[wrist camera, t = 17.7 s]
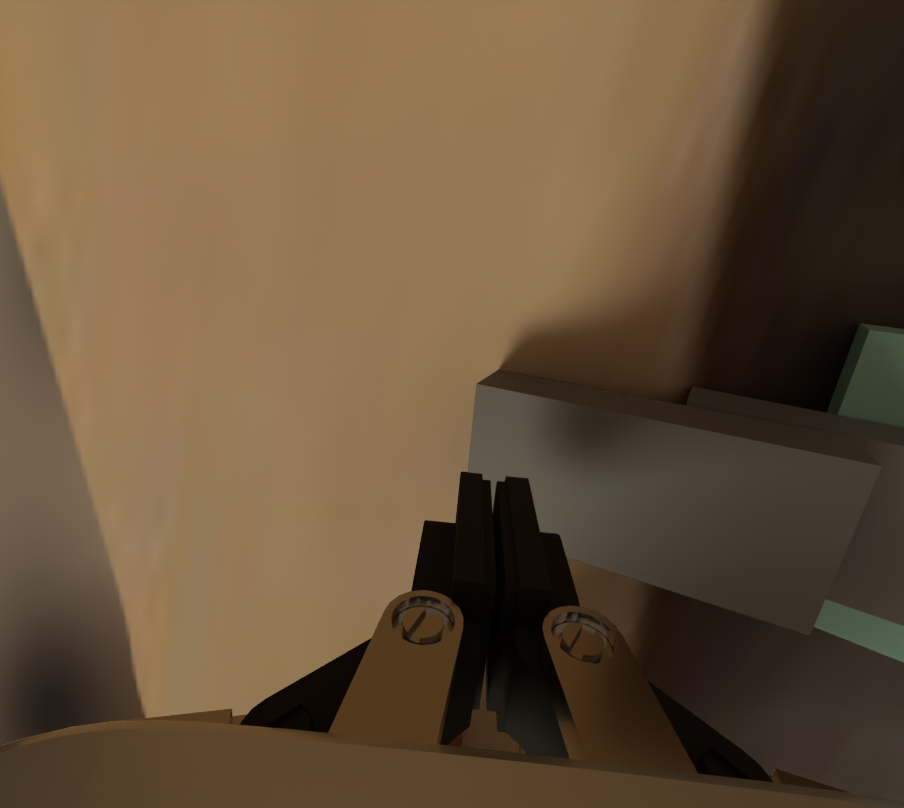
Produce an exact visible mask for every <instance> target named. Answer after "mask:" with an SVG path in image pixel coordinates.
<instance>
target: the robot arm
mask: <svg viewBox="0 0 904 808" xmlns="http://www.w3.org/2000/svg"><path fill="white" fill-rule="evenodd" d="M485 664H486V704H487V711H496V714H497V731H499V732H507V733H508V734H509V735H510V736H511V737H512V738H513V739H514V740H515V741H516V742H517V743H518V744H519V745H520V747H519V753H512V752H503V751H493V750H484V749H475V748H466V747H457V746H449V743H451V742H452V741H453V740H454V739H455V738H456V737H458V736H459V735H460V734H461V733H462V732H463V731H465V730H466V729H467V728H468V727H469V726H470V722H471V714H472V709H478V710H479V705H480V698H481V692H482V685H483V678H484V671H485ZM0 808H904V801H898V800H892V799H887V798H881V797H876V796H870V795H863V794H855V793H850V792H847V791H844V790H841V789H837V788H834V787H831V786H828V785H825V784H822V783H819V782H816V781H813V780H810V779H807V778H803V777H800V776H797V775H794V774H791V773H788V772H785V771H782V770H779V769H776V768H775V770H774V772H773V774H772V776H771V775H768V774H767V773H766V772H765V771H764V770H763V769H762V767H761V766H760V765H759V764H758V763H757V762H756V761H754V760H753V759H752V758H751V757H750V756H749V755H748V754H746V753H745V752H744V751H743V750H741V749H740V748H739V747H737V746H736V745H735V744H733V743H732V742H731V741H729V740H728V739H726V738H725V737H724V736H722V735H721V734H720V733H718V732H717V731H716V730H714V729H713V728H712V727H710V726H709V725H707V724H706V723H705V722H703V721H702V720H701V719H699V718H698V717H697V716H695V715H694V714H693V713H691V712H690V711H688V710H687V709H686V708H684V707H683V706H682V705H680V704H679V703H678V702H676V701H675V700H673V699H672V698H671V697H669V696H668V695H667V694H665V693H664V692H663V691H661V690H660V689H659V688H657V687H656V686H654V685H653V684H652V683H650V682H649V681H648V680H647V679H646V677H645V676H644V674H643V672H642V670H641V668H640V666H639V665H638V663H637V661H636V659H635V657H634V656H633V654H632V652H631V650H630V648H629V646H628V645H627V643H626V641H625V639H624V637H623V635H622V634H621V633H620V631H619V630H618V629H617V627H616V626H615V625H614V624H613V623H612V622H611V621H609V620H608V619H607V618H606V617H604V616H602V615H601V614H599V613H597V612H595V611H593V610H590V609H587V608H584V607H580V604H579V601H578V597H577V593H576V590H575V586H574V583H573V579H572V576H571V572H570V569H569V565H568V562H567V558H566V555H565V551H564V547H563V544H562V540H561V538H560V535H559V534H555V533H546V532H540V529H539V525H538V520H537V516H536V511H535V506H534V502H533V497H532V493H531V488H530V483H529V479H528V478H520V477H510V476H506V477H505V482H503V481H497V483H496V489H495V497H494V505H493V512H492V496H491V481H490V480H483V475H482V474H480V473H470V472H461V475H460V484H459V494H458V504H457V514H456V523H447V522H437V521H428V520H425V521H424V526H423V531H422V537H421V542H420V548H419V553H418V558H417V564H416V569H415V575H414V580H413V585H412V591H410V592H407V593H404V594H402V595H399V596H398V597H396V598H395V599H394V600H392V601H391V602H390V603H389V605H388V606H387V607H386V609H385V610H384V613H383V615H382V617H381V619H380V621H379V623H378V626H377V628H376V630H375V632H374V634H373V636H372V638H371V639H369V640H367V641H366V642H364V643H362V644H360V645H359V646H357V647H355V648H353V649H352V650H350V651H348V652H346V653H345V654H343V655H341V656H339V657H338V658H336V659H334V660H333V661H331V662H329V663H327V664H326V665H324V666H322V667H320V668H319V669H317V670H315V671H313V672H312V673H310V674H308V675H306V676H305V677H303V678H301V679H299V680H298V681H296V682H294V683H293V684H291V685H289V686H287V687H286V688H284V689H282V690H280V691H279V692H277V693H275V694H273V695H272V696H270V697H268V698H266V699H265V700H264V701H262V702H261V703H259V704H258V705H257V706H255V707H254V708H253V709H252V710H251V711H250V712H249V713H248V714H247V715H239V716H233V715H232V709H224V710H216V711H207V712H198V713H189V714H180V715H171V716H162V717H153V718H144V719H136V720H127V721H113V722H106V723H98V724H91V725H83V726H76V727H69V728H65V729H61V730H57V731H53V732H49V733H45V734H40V735H36V736H32V737H28V738H24V739H20V740H17V741H14V742H11V743H8V744H5V745H2V746H0Z"/></svg>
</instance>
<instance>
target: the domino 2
mask: <svg viewBox="0 0 904 808" xmlns="http://www.w3.org/2000/svg"><path fill="white" fill-rule="evenodd" d="M686 406H691V407H696V408H701V409H707V410H712V411H717V412H723V413H728V414H733V415H739V416H744V417H749V418H754V419H760V420H765V421H770V422H776V423H781V424H786V425H792V426H797V427H802V428H808V429H813V430H818V431H823V432H829V433H834V434H839V435H845V436H850V437H854V438H855V440H856V441H857V442H858V443H859V444H860V445H861V446H862V447H863V448H864V449H865V450H866V451H867V452H868V453H869V454H870V455H871V456H872V457H873V458H874V459H875V460H876V461H877V462H878V463H879V464H880V465H881V466H882V468H881V470H880V472H879V475H878V477H877V479H876V482H875V484H874V487H873V489H872V491H871V494H870V496H869V498H868V501H867V503H866V505H865V508H864V510H863V512H862V515H861V517H860V519H859V522H858V524H857V526H856V529H855V531H854V534H853V536H852V538H851V541H850V543H849V545H848V548H847V550H846V552H845V555H844V557H843V559H842V562H841V564H840V566H839V569H838V571H837V573H836V576H835V578H834V580H833V583H832V585H831V588H830V590H829V592H828V595H827V597H826V600H829V601H832V602H835V603H838V604H841V605H844V606H847V607H850V608H852V609H855V610H858V611H861V612H864V613H867V614H870V615H873V616H876V617H879V618H882V619H884V620H887V621H890V622H893V623H896V624H899V625H902V626H904V428H902V427H897V426H892V425H887V424H882V423H876V422H871V421H866V420H861V419H856V418H851V417H846V416H841V415H836V414H831V413H826V412H820V411H815V410H810V409H805V408H800V407H795V406H790V405H785V404H780V403H775V402H770V401H765V400H759V399H754V398H749V397H744V396H739V395H734V394H729V393H724V392H719V391H714V390H709V389H703V388H698V387H693V386H692V388H691V391H690V394H689V397H688V400H687V403H686Z"/></svg>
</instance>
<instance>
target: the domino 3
mask: <svg viewBox="0 0 904 808" xmlns="http://www.w3.org/2000/svg"><path fill="white" fill-rule="evenodd" d="M826 413H831V414H836V415H841V416H846V417H851V418H856V419H861V420H866V421H871V422H876V423H882V424H887V425H892V426H897V427H902V428H904V329H900V328H892V327H885V326H877V325H869V324H859V326H858V329H857V332H856V334H855V337H854V340H853V342H852V345H851V348H850V351H849V353H848V356H847V359H846V361H845V364H844V367H843V369H842V372H841V375H840V377H839V380H838V383H837V385H836V388H835V391H834V394H833V396H832V399H831V402H830V404H829V407H828V410H827V412H826ZM814 627H815V628H818V629H820V630H823V631H825V632H828V633H830V634H833V635H835V636H838V637H841V638H843V639H846V640H848V641H851V642H853V643H856V644H858V645H861V646H863V647H866V648H868V649H871V650H873V651H876V652H878V653H881V654H883V655H886V656H889V657H891V658H894V659H896V660H899V661H901V662H904V626H902V625H899V624H896V623H893V622H890V621H887V620H884V619H882V618H879V617H876V616H873V615H870V614H867V613H864V612H861V611H858V610H855V609H852V608H850V607H847V606H844V605H841V604H838V603H835V602H832V601H829V600H826V599H825V602H824V604H823V606H822V609H821V611H820V613H819V616H818V618H817V620H816V623H815V625H814Z"/></svg>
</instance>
